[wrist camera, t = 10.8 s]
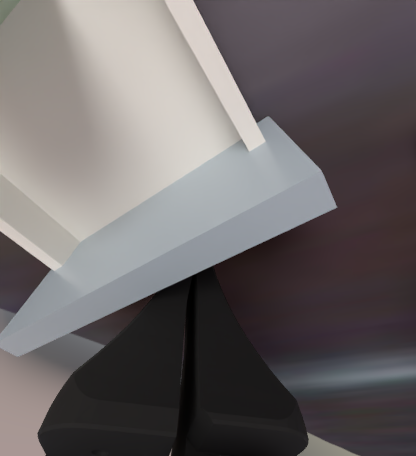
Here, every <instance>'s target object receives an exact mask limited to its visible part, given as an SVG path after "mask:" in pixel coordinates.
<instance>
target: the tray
mask: <svg viewBox="0 0 416 456" xmlns="http://www.w3.org/2000/svg"><path fill="white" fill-rule="evenodd" d="M335 208H337V206H336V204H335V201H334V199H333V197H332V194H331V192H330V190H329V187H328V185H327V182H326V180H325V178H324V175H323V173H322V171H321V170H320V169H319V168H318V167H317V166H316V164H315V163H314V162H313V161H312V160H311V159H310V158H309V157H308V156H307V155H306V154H305V153H304V152H303V151H302V150H301V149H300V148H299V147H298V146H297V145H296V144H295V143H294V142H293V141H292V140H291V139H290V138H289V137H288V136H287V135H286V134H285V132H284V131H283V130H282V129H281V128H280V127H279V126H278V125H277V124H276V123H275V122H274V121H273V120H272V119H271V118H270V117H269V116H268V117H266V118H264V119H263V120H261V121H260V122H258V123H257V124H256V122H255V120H254V118H253V116H252V114H251V112H250V110H249V108H248V106H247V104H246V102H245V100H244V98H243V96H242V94H241V93H240V91H239V89H238V87H237V85H236V83H235V81H234V79H233V77H232V75H231V73H230V71H229V69H228V67H227V65H226V63H225V61H224V59H223V58H222V56H221V54H220V52H219V50H218V48H217V46H216V44H215V42H214V40H213V38H212V36H211V34H210V32H209V30H208V28H207V26H206V25H205V23H204V21H203V19H202V17H201V15H200V13H199V11H198V9H197V7H196V5H195V3H194V1H193V0H20V1H19V3H18V4H17V5H16V6H15V8H14V9H13V10H12V11H11V13H10V14H9V15H8V16H7V18H6V19H5V20H4V21H3V23H2V24H1V25H0V231H1V232H2V233H4V234H5V235H6V236H8V237H9V238H11V239H12V240H13V241H15V242H16V243H17V244H19V245H20V246H21V247H23V248H24V249H25V250H27V251H28V252H29V253H31V254H32V255H33V256H35V257H36V258H37V259H39V260H40V261H41V262H43V263H44V264H45V265H47V266H48V267H50V268H51V271H50V272H49V273H48V274H47V276H46V277H45V278H44V279H43V281H42V282H41V283H40V284H39V286H38V287H37V288H36V290H35V291H34V292H33V293H32V295H31V296H30V297H29V298H28V300H27V301H26V302H25V304H24V305H23V306H22V307H21V309H20V310H19V311H18V312H17V314H16V315H15V316H14V318H13V319H12V320H11V321H10V323H9V324H8V325H7V327H6V328H5V329H4V330H3V331H2V333H1V334H0V348H1V349H3V350H5V351H7V352H9V353H11V354H13V355H15V356H17V357H19V356H21V355H23V354H25V353H27V352H29V351H32V350H34V349H36V348H38V347H40V346H42V345H44V344H46V343H49V342H51V341H53V340H55V339H57V338H59V337H61V336H64V335H66V334H68V333H70V332H72V331H74V330H76V329H79V328H81V327H83V326H85V325H87V324H89V323H91V322H93V321H96V320H98V319H100V318H102V317H104V316H106V315H108V314H111V313H113V312H115V311H117V310H119V309H121V308H123V307H125V306H128V305H130V304H132V303H134V302H136V301H138V300H140V299H143V298H145V297H147V296H149V295H151V294H153V293H155V292H158V291H160V290H162V289H164V288H166V287H168V286H170V285H172V284H175V283H177V282H179V281H181V280H183V279H185V278H187V277H190V276H192V275H194V274H196V273H198V272H200V271H202V270H205V269H207V268H209V267H211V266H213V265H215V264H217V263H219V262H222V261H224V260H226V259H228V258H230V257H232V256H234V255H237V254H239V253H241V252H243V251H245V250H247V249H249V248H251V247H254V246H256V245H258V244H260V243H262V242H264V241H266V240H269V239H271V238H273V237H275V236H277V235H279V234H281V233H284V232H286V231H288V230H290V229H292V228H294V227H296V226H298V225H301V224H303V223H305V222H307V221H309V220H311V219H313V218H316V217H318V216H320V215H322V214H324V213H326V212H328V211H331V210H333V209H335Z"/></svg>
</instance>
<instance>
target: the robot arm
mask: <svg viewBox="0 0 416 456" xmlns="http://www.w3.org/2000/svg"><path fill="white" fill-rule="evenodd" d="M185 315H186V320H185ZM184 326H185V349H184V361H183V369H182V377H181V366H182V352H183V338H184ZM180 383H181V385H180ZM38 439H39V442H40V444H41V446H42V447H43V449H44V451H45V453H46V456H169V454H170V452H171V449H172V453H171V456H297V455H298V454H299V453H301V452H302V451H303V450H304V449H305V448H306V447H307V445H308V435H307V431H306V427H305V424H304V420H303V417H302V414H301V412H300V409H299V406H298V403H297V400H296V399H295V398H294V397H293V396H292V395H291V394H290V392H289V391H288V390H287V389H286V388H285V387H284V386H283V385H282V383H281V382H280V381H279V380H278V379H277V377H276V376H275V375H274V374H273V373H272V371H271V370H270V369H269V367H268V366H267V365H266V364H265V362H264V361H263V360H262V358H261V357H260V355H259V354H258V353H257V351H256V350H255V348H254V347H253V345H252V344H251V343H250V341H249V340H248V338H247V337H246V335H245V333H244V332H243V330H242V329H241V327H240V325H239V323H238V322H237V320H236V318H235V316H234V315H233V313H232V311H231V309H230V307H229V305H228V303H227V301H226V298H225V296H224V294H223V292H222V289H221V287H220V284H219V282H218V279H217V276H216V273H215V270H214V267H213V266H211V267H209V268H207V269H205V270H202V271H200V272H198V273H196V274H194V275H192V276H190V277H187V278H185V279H183V280H181V281H179V282H177V283H175V284H172V285H170V286H168V287H166V288H164V289H162V290H160V291H158V292H156V294H155V295H154V296H153V298H152V299H151V300H150V301H149V303H148V304H147V305H146V306H145V307H144V308H143V310H142V311H141V312H140V313H139V314H138V315H137V316H136V317H135V318H134V319H133V320H132V321H131V322H130V324H129V325H128V326H127V327H126V328H125V329H123V330H122V331H121V332H120V333H119V334H118V335H117V336H116V337H115V338H114V339H113V340H112V341H110V342H109V343H108V344H107V345H106V346H105V347H104V348H103V349H101V350H100V351H99V352H98V353H97V354H96V355H94V356H93V357H92V358H91V359H89V360H88V361H87V362H86V363H84V364H83V365H82V366H81V367H79V368H78V369H77V370H76V371H75V372H73V374H72V375H71V376H70V378H69V379H68V380H67V382H66V383H65V384H64V386H63V387H62V389H61V390H60V392H59V393H58V395H57V396H56V398H55V400H54V401H53V403H52V405H51V407H50V408H49V411H48V412H47V415H46V417H45V419H44V421H43V423H42V425H41V427H40V429H39V432H38Z"/></svg>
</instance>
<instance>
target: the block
mask: <svg viewBox="0 0 416 456" xmlns="http://www.w3.org/2000/svg"><path fill="white" fill-rule="evenodd" d="M19 1H20V0H0V25H1V24H2V23H3V21H4V20H5V19H6V18H7V16H8V15H9V14H10V13H11V11H12V10H13V9H14V8H15V6H16V5H17V4H18V3H19Z"/></svg>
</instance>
